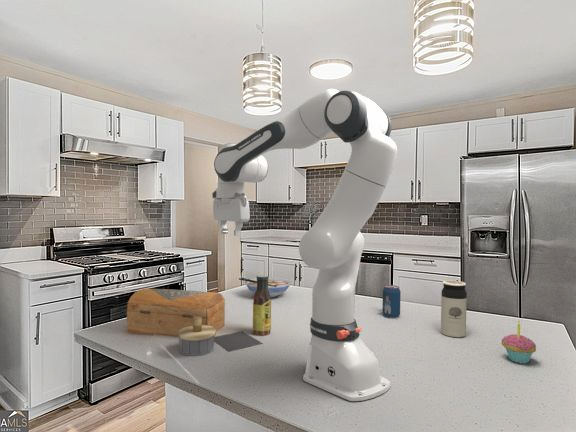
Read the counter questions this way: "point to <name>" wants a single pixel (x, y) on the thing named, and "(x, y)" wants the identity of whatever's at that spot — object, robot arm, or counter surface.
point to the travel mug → (453, 308)
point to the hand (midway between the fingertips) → (230, 234)
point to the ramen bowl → (269, 285)
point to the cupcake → (518, 347)
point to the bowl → (196, 347)
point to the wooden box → (173, 311)
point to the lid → (197, 331)
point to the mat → (236, 341)
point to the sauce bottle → (262, 307)
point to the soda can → (391, 301)
